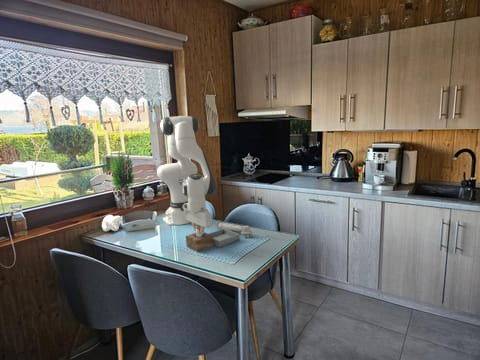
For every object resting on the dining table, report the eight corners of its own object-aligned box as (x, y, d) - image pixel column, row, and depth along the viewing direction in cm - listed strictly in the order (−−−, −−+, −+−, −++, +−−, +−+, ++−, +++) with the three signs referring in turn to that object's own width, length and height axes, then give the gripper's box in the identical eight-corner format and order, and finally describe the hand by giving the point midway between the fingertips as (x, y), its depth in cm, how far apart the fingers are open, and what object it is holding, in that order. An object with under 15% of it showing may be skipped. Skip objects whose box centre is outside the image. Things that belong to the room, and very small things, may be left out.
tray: (203, 240, 171) (203, 234, 171) (223, 234, 180) (223, 228, 180) (219, 247, 161) (219, 241, 160) (239, 240, 170) (239, 234, 169)
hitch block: (186, 246, 164) (185, 235, 163) (202, 241, 171) (201, 230, 170) (197, 252, 157) (196, 240, 156) (213, 246, 163) (212, 235, 162)
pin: (195, 246, 164) (194, 226, 162) (200, 244, 166) (199, 224, 164) (199, 248, 162) (197, 227, 160) (204, 246, 164) (202, 226, 162)
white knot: (97, 233, 191) (95, 219, 189) (109, 226, 202) (107, 213, 201) (113, 233, 188) (112, 219, 187) (124, 227, 200) (123, 213, 198)
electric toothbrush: (222, 221, 192) (252, 223, 174) (223, 231, 192) (254, 235, 175) (216, 223, 188) (246, 226, 170) (217, 234, 189) (248, 238, 171)
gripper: (214, 208, 154) (215, 235, 157) (191, 201, 169) (193, 225, 172) (203, 211, 150) (205, 238, 153) (181, 203, 165) (183, 228, 168)
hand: (198, 231), depth 162 cm, fingers open, 5 cm apart
